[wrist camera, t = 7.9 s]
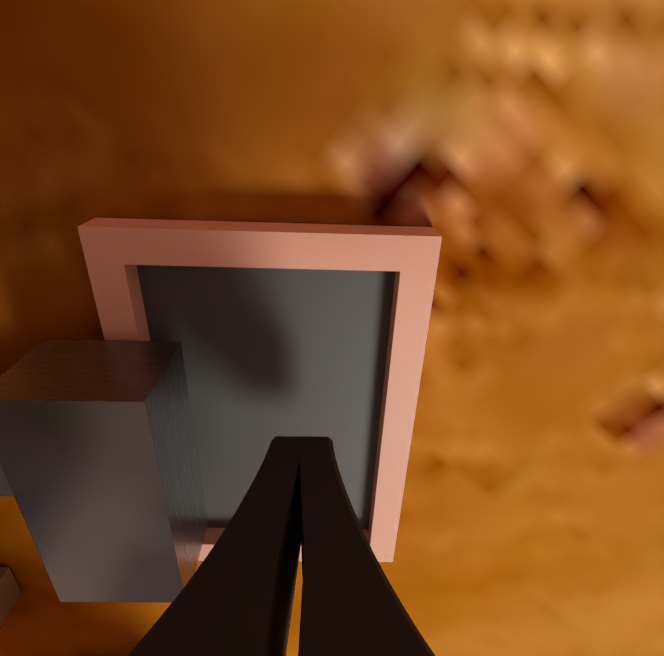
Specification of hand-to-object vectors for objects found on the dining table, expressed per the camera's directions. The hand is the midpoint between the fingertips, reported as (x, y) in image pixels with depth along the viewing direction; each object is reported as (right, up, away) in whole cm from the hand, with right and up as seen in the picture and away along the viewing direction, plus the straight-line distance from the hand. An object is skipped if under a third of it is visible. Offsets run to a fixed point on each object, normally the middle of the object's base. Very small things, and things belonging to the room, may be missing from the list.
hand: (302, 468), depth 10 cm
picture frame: (-1, +1, +2) cm, 2 cm away
